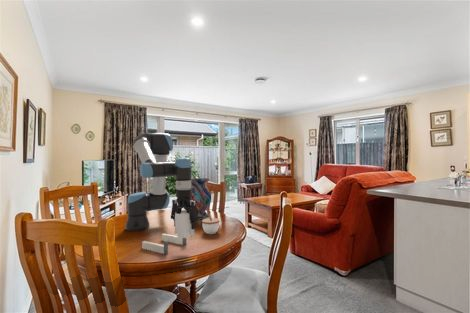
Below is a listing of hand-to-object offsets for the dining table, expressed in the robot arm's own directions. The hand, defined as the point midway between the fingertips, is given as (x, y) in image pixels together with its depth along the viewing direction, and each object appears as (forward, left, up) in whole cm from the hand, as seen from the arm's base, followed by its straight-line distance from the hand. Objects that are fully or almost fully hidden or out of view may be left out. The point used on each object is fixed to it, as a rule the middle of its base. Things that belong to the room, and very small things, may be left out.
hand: (184, 234), depth 119 cm
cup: (0, 0, -1) cm, 1 cm away
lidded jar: (-5, +30, -8) cm, 32 cm away
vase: (-35, +58, -8) cm, 68 cm away
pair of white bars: (-14, 0, -8) cm, 16 cm away
